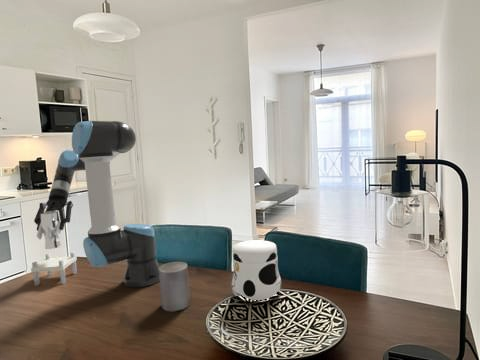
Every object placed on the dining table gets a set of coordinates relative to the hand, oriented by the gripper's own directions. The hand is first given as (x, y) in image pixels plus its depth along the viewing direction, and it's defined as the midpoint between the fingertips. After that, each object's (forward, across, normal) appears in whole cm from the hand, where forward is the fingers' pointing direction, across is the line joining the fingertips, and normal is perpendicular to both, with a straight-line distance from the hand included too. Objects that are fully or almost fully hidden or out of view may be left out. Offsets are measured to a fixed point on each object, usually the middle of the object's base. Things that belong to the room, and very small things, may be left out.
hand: (48, 236), depth 146 cm
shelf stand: (+11, 0, -16) cm, 20 cm away
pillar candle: (+37, -54, +10) cm, 66 cm away
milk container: (+37, -82, +9) cm, 90 cm away
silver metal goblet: (+1, 0, -6) cm, 7 cm away
